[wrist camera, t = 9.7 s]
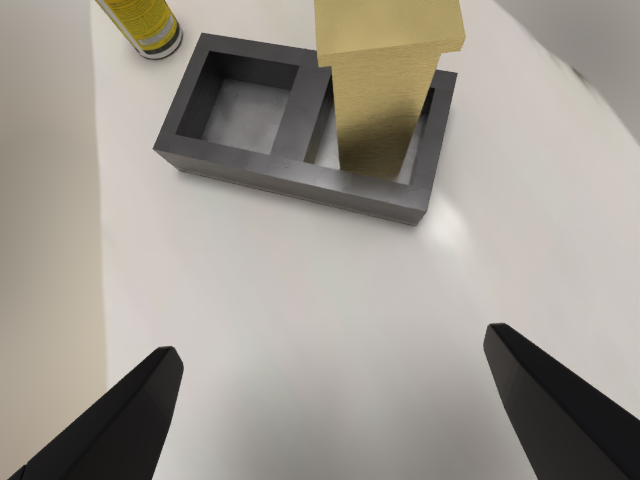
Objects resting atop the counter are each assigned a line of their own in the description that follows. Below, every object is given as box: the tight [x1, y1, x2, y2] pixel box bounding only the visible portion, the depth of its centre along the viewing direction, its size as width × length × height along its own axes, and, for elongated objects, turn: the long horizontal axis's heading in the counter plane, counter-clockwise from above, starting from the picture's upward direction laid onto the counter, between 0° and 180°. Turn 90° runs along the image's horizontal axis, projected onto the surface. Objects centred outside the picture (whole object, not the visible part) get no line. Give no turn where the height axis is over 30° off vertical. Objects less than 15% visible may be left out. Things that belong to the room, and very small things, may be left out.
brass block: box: [314, 0, 466, 176], centre depth 18 cm, size 6×6×12 cm
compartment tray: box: [153, 33, 458, 226], centre depth 24 cm, size 10×20×4 cm, turn 74°
